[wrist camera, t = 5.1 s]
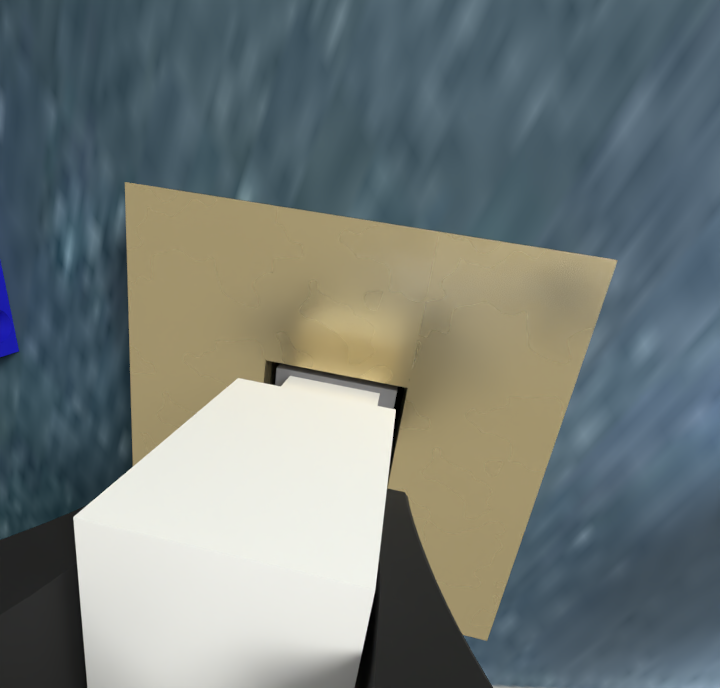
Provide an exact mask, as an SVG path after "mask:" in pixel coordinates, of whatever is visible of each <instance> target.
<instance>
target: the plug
mask: <svg viewBox="0 0 720 688" xmlns="http://www.w3.org/2000/svg"><path fill="white" fill-rule="evenodd" d="M379 395H380V393H375V392H370V391H365V390H360V389H355V388H350V387H344V386H339V385H334V384H329V383H324V382H319V381H314V380H309V379H304V378H299V377H294V376H289V378H288V379H287V380H286V381H285V382H284V383H283V385H282V386H275V385H270V384H265V383H260V382H255V381H250V380H245V379H240V378H238V379H236V380H235V381H234V382H233V383H232V384H230V385H229V386H228V387H227V388H226V389H224V390H223V391H222V392H221V393H220V394H219V395H217V396H216V397H215V398H214V399H213V400H211V401H210V402H209V403H208V404H207V405H206V406H204V407H203V408H202V409H201V410H200V411H198V412H197V413H196V414H195V415H194V416H192V417H191V418H190V419H189V420H188V421H187V422H185V423H184V424H183V425H182V426H181V427H179V428H178V429H177V430H176V431H175V432H174V433H172V434H171V435H170V436H169V437H168V438H166V439H165V440H164V441H163V442H162V443H160V444H159V445H158V446H157V447H156V448H155V449H153V450H152V451H151V452H150V453H149V454H147V455H146V456H145V457H144V458H143V459H142V460H140V461H139V462H138V463H137V464H136V465H134V466H133V467H132V468H131V469H130V470H128V471H127V472H126V473H125V474H124V475H123V476H121V477H120V478H119V479H118V480H117V481H115V482H114V483H113V484H112V485H111V486H110V487H108V488H107V489H106V490H105V491H104V492H102V493H101V494H100V495H99V496H98V497H96V498H95V499H94V500H93V501H92V502H91V503H89V504H88V505H87V506H86V507H85V508H83V509H82V510H81V511H80V512H79V513H78V514H76V515H75V516H74V517H73V520H74V532H75V544H76V556H77V568H78V581H79V593H80V605H81V617H82V629H83V641H84V653H85V665H86V677H87V688H355V683H356V678H357V674H358V669H359V664H360V660H361V655H362V650H363V645H364V641H365V636H366V631H367V627H368V622H369V617H370V613H371V608H372V603H373V598H374V594H375V588H376V580H377V571H378V562H379V553H380V545H381V536H382V527H383V518H384V510H385V501H386V492H387V483H388V475H389V466H390V457H391V448H392V439H393V431H394V422H395V413H396V409H391V408H386V407H381V406H378V400H379Z"/></svg>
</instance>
